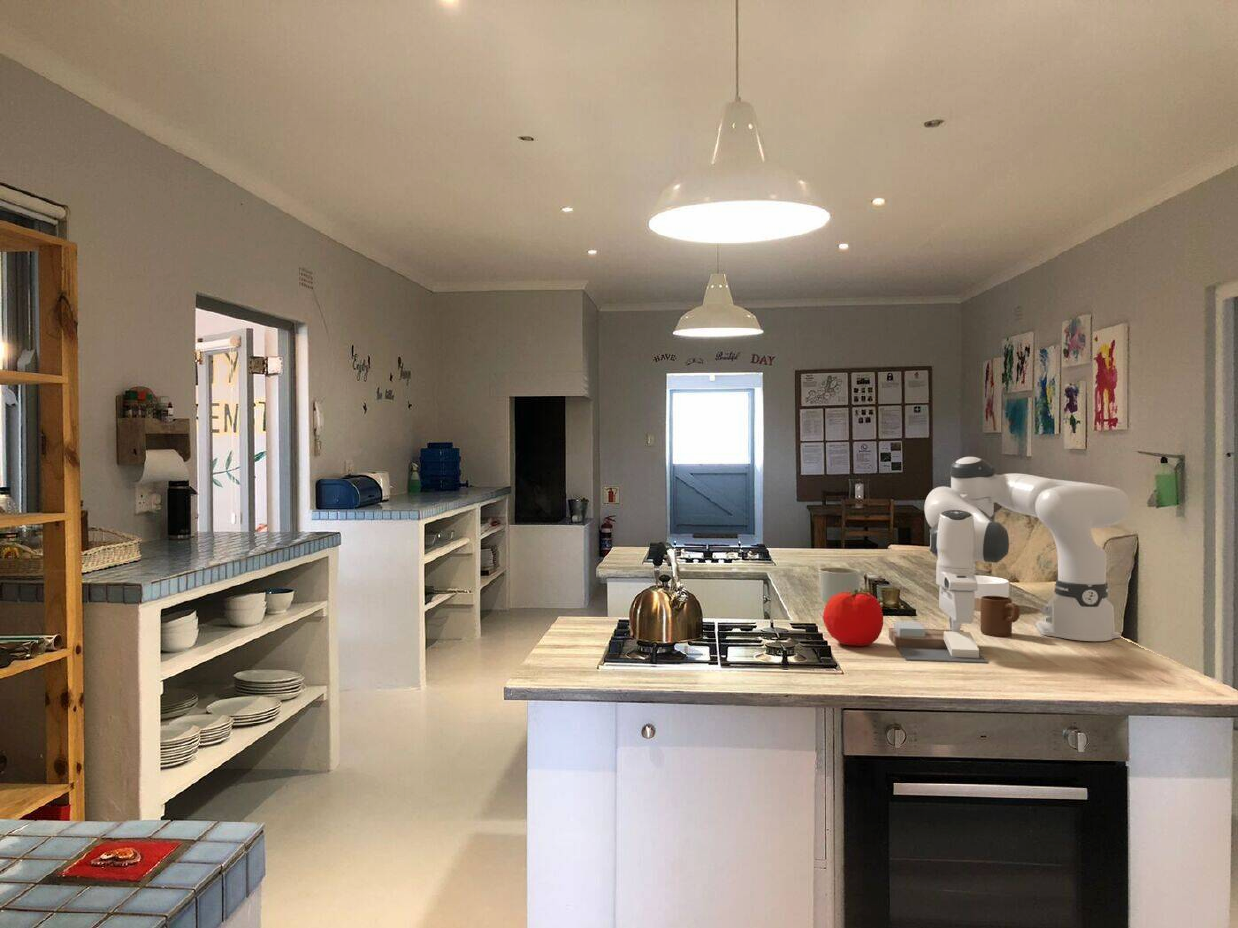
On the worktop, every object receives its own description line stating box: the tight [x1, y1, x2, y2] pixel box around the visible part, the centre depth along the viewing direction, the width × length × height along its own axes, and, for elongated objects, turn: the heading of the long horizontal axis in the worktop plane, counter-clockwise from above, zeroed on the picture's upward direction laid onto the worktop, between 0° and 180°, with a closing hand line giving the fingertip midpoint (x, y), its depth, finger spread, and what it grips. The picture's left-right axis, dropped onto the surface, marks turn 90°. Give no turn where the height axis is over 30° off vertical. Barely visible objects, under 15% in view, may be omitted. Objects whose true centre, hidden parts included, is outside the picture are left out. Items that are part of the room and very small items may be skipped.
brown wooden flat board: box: [888, 627, 976, 649], centre depth 221 cm, size 12×18×2 cm, turn 82°
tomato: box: [822, 588, 884, 647], centre depth 220 cm, size 16×14×14 cm
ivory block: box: [943, 631, 980, 658], centre depth 210 cm, size 9×6×2 cm, turn 171°
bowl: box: [974, 574, 1010, 612], centre depth 273 cm, size 17×17×8 cm
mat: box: [896, 647, 989, 664], centre depth 209 cm, size 12×18×1 cm, turn 82°
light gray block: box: [893, 620, 926, 637], centre depth 222 cm, size 9×6×2 cm, turn 172°
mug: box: [980, 596, 1021, 637], centre depth 231 cm, size 12×8×9 cm, turn 16°
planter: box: [818, 566, 862, 605], centre depth 273 cm, size 12×12×11 cm
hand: (954, 634), depth 216 cm, fingers closed
